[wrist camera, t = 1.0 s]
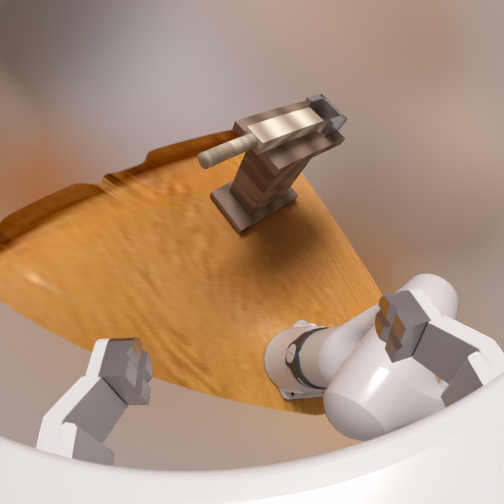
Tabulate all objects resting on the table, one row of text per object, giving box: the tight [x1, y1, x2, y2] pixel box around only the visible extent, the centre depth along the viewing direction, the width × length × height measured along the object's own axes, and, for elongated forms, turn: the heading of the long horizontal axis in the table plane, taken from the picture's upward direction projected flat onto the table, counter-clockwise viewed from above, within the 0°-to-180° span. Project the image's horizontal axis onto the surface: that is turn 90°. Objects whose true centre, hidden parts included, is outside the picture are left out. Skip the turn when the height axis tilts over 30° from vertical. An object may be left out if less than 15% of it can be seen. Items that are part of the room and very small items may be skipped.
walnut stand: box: [210, 101, 345, 234], centre depth 61 cm, size 20×12×26 cm, turn 129°
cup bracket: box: [300, 94, 347, 136], centre depth 51 cm, size 5×8×4 cm, turn 39°
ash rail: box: [198, 107, 323, 169], centre depth 45 cm, size 26×4×3 cm, turn 129°
